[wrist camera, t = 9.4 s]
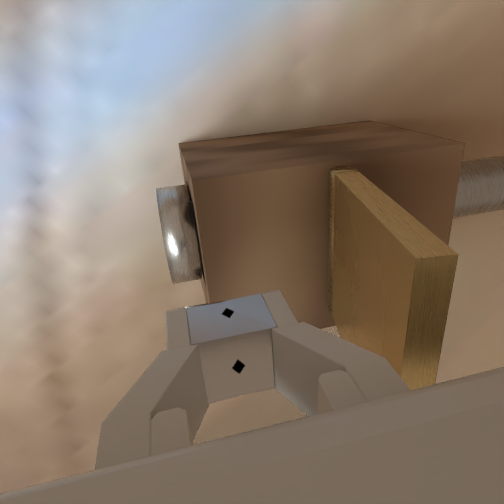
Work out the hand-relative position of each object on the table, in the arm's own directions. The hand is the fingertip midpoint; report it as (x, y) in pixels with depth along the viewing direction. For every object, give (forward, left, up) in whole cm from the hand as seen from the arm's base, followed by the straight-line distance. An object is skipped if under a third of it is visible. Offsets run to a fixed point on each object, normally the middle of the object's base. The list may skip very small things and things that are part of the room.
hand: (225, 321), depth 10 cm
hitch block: (+5, -1, -11) cm, 12 cm away
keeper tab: (+5, 0, 0) cm, 5 cm away
